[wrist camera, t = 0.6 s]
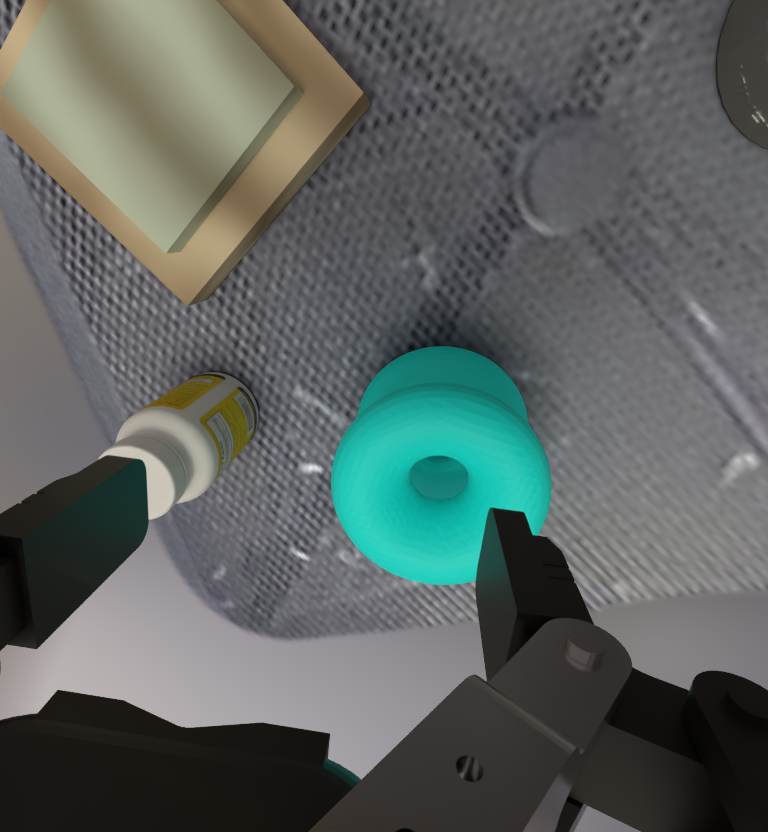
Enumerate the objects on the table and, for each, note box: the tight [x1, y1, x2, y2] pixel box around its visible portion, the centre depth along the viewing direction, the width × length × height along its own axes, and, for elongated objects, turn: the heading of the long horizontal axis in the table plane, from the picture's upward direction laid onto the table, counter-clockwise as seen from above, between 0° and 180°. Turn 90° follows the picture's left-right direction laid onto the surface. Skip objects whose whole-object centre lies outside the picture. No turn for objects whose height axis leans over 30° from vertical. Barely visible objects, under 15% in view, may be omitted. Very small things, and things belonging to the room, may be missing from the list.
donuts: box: [331, 346, 552, 585], centre depth 27 cm, size 10×10×10 cm
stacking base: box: [0, 0, 371, 306], centre depth 25 cm, size 14×14×4 cm
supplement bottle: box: [98, 372, 259, 520], centre depth 28 cm, size 5×5×10 cm
